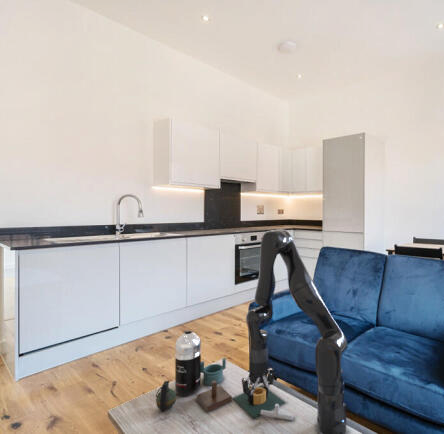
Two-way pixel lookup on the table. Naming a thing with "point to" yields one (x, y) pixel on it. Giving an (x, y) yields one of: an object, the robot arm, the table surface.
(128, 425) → the table surface
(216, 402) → the tape holder
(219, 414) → the table surface
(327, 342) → the robot arm
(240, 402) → the desk mat
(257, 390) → the tape roll
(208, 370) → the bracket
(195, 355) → the black ribbed cylinder
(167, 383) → the hand grenade
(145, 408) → the table surface
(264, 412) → the pipe joint
